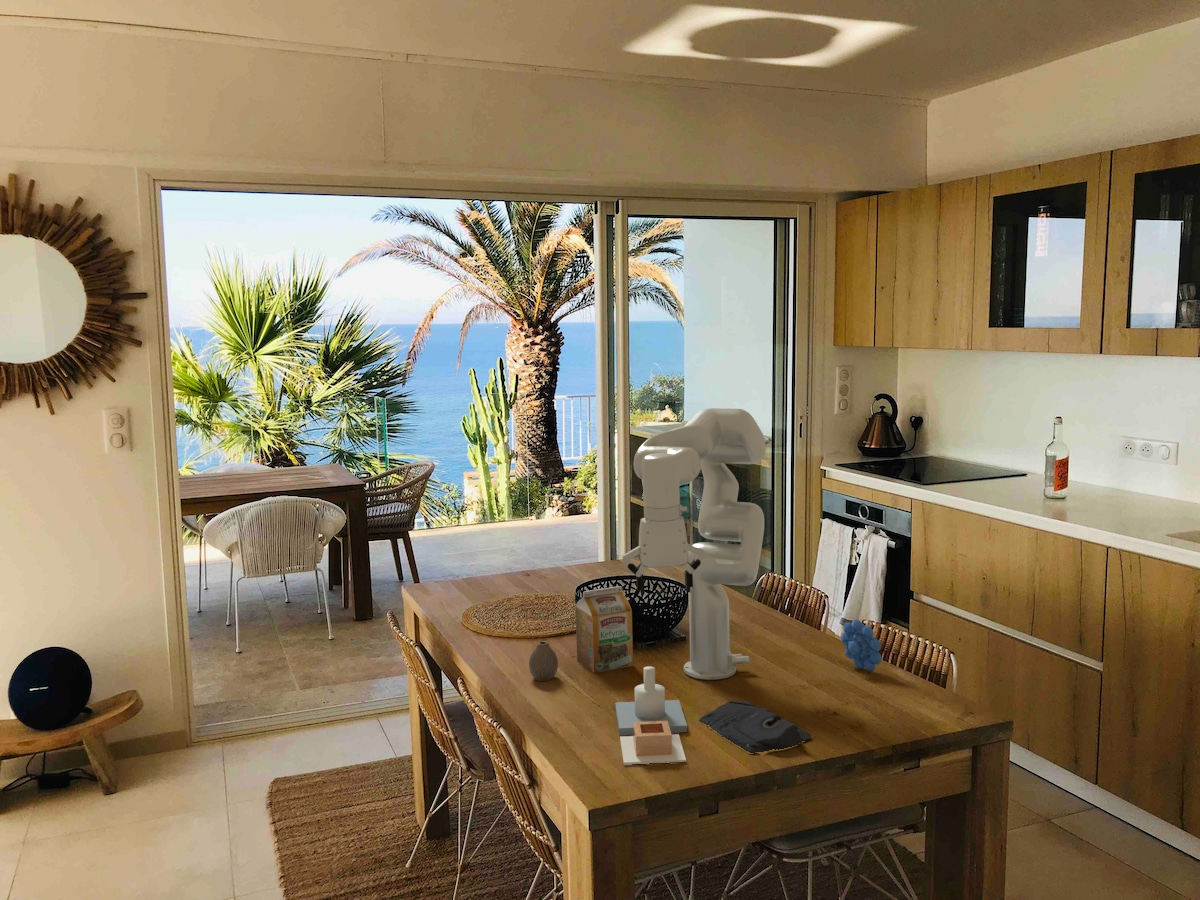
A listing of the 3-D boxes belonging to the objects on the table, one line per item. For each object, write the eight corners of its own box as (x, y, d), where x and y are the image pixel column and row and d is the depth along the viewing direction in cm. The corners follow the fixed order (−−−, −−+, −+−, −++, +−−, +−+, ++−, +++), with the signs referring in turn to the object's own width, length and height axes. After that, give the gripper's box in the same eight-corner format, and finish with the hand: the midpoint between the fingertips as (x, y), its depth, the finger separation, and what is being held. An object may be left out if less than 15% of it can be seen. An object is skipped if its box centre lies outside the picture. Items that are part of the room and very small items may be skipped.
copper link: (667, 739, 200) (667, 720, 199) (671, 754, 193) (671, 734, 193) (633, 741, 200) (632, 722, 199) (636, 756, 193) (635, 736, 192)
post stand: (679, 706, 218) (678, 656, 217) (687, 732, 205) (686, 678, 203) (615, 709, 218) (614, 658, 216) (619, 735, 204) (618, 681, 203)
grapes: (829, 667, 240) (829, 619, 239) (847, 660, 245) (848, 613, 243) (869, 679, 231) (869, 630, 230) (887, 673, 235) (887, 624, 234)
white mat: (678, 736, 203) (678, 734, 202) (686, 762, 191) (686, 759, 191) (620, 739, 202) (619, 736, 202) (623, 765, 190) (623, 762, 190)
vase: (554, 684, 234) (553, 648, 233) (526, 682, 236) (524, 646, 234) (561, 673, 241) (560, 638, 240) (534, 672, 242) (532, 637, 241)
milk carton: (593, 673, 241) (591, 596, 238) (577, 660, 250) (574, 586, 248) (633, 665, 245) (631, 591, 243) (615, 653, 255) (613, 581, 252)
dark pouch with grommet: (751, 707, 218) (751, 686, 217) (817, 743, 199) (817, 721, 198) (693, 722, 211) (692, 700, 210) (755, 761, 192) (755, 737, 191)
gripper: (700, 506, 210) (703, 583, 213) (619, 511, 210) (622, 588, 212) (706, 514, 203) (708, 594, 206) (621, 519, 202) (625, 600, 205)
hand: (665, 591), depth 209 cm, fingers open, 9 cm apart
